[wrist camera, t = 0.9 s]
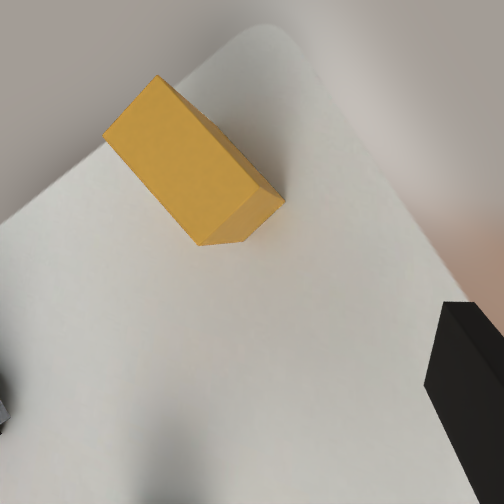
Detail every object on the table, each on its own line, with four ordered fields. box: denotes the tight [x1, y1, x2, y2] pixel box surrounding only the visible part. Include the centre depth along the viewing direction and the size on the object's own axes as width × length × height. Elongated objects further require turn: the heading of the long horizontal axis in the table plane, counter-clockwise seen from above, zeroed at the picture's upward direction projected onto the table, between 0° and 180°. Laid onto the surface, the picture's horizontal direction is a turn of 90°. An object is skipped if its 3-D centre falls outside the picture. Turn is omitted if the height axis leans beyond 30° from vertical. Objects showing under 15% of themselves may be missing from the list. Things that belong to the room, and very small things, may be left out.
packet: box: [102, 75, 285, 246], centre depth 26 cm, size 4×8×10 cm, turn 43°
